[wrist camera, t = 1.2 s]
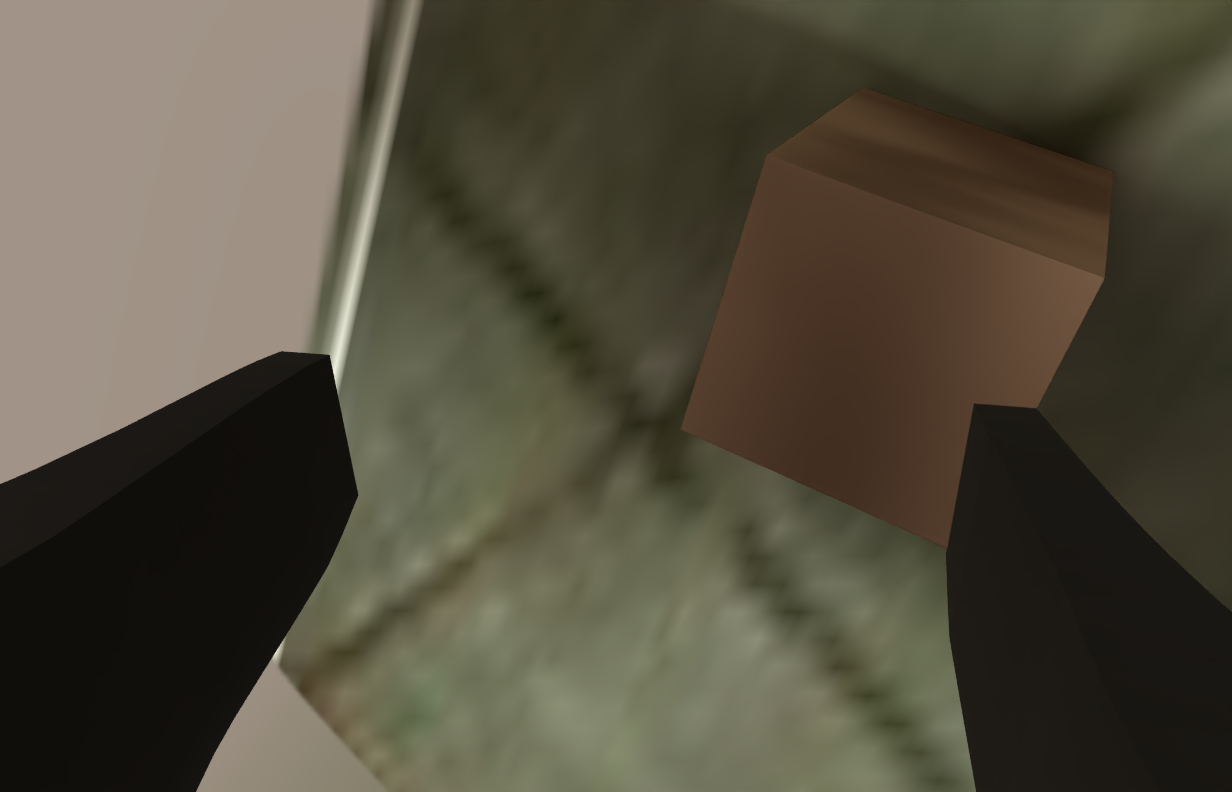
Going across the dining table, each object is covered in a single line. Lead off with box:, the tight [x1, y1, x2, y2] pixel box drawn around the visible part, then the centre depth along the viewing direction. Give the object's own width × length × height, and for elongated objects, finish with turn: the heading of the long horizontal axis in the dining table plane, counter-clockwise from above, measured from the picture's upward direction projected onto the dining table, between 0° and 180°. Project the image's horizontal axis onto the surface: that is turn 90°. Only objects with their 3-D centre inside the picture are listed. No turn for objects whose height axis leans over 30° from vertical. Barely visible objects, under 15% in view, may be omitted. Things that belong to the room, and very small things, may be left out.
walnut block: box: [681, 87, 1114, 548], centre depth 17 cm, size 4×4×6 cm
